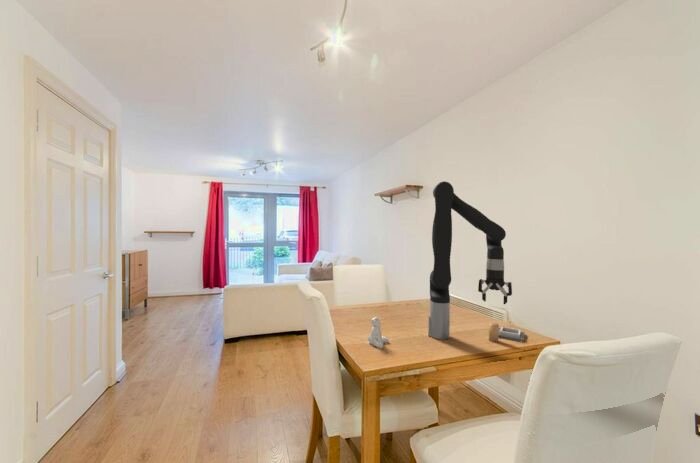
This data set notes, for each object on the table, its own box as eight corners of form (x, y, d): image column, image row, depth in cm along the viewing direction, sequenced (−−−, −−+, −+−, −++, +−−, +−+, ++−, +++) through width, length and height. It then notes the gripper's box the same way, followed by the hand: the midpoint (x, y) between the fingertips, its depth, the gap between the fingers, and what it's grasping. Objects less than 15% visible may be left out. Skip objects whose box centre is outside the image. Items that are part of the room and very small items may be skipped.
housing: (495, 336, 144) (495, 331, 144) (498, 330, 154) (498, 324, 154) (523, 342, 138) (523, 336, 138) (524, 334, 148) (524, 329, 148)
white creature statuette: (381, 349, 127) (381, 321, 127) (363, 345, 132) (364, 318, 132) (389, 342, 136) (389, 316, 136) (372, 338, 140) (372, 313, 140)
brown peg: (488, 341, 138) (488, 324, 138) (489, 338, 142) (489, 322, 142) (497, 343, 136) (498, 325, 136) (498, 340, 140) (499, 323, 140)
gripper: (477, 268, 140) (476, 301, 140) (511, 270, 132) (510, 306, 132) (480, 266, 146) (479, 299, 146) (513, 268, 138) (512, 303, 138)
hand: (494, 302), depth 139 cm, fingers open, 8 cm apart
